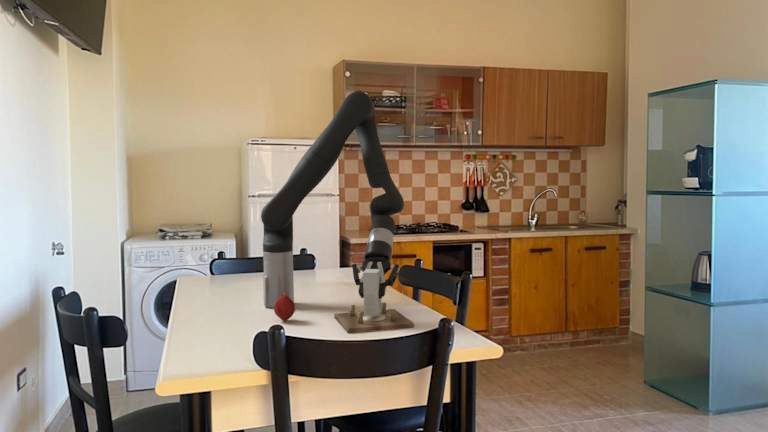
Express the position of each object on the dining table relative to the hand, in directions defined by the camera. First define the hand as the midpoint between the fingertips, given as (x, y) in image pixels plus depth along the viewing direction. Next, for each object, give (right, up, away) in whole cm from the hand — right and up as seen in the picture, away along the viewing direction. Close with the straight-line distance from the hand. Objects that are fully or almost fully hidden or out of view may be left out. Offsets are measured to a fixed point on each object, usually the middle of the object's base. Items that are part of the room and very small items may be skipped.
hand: (371, 296), depth 170 cm
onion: (-24, -8, +6) cm, 26 cm away
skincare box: (0, -5, +2) cm, 6 cm away
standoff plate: (0, -8, +2) cm, 8 cm away
